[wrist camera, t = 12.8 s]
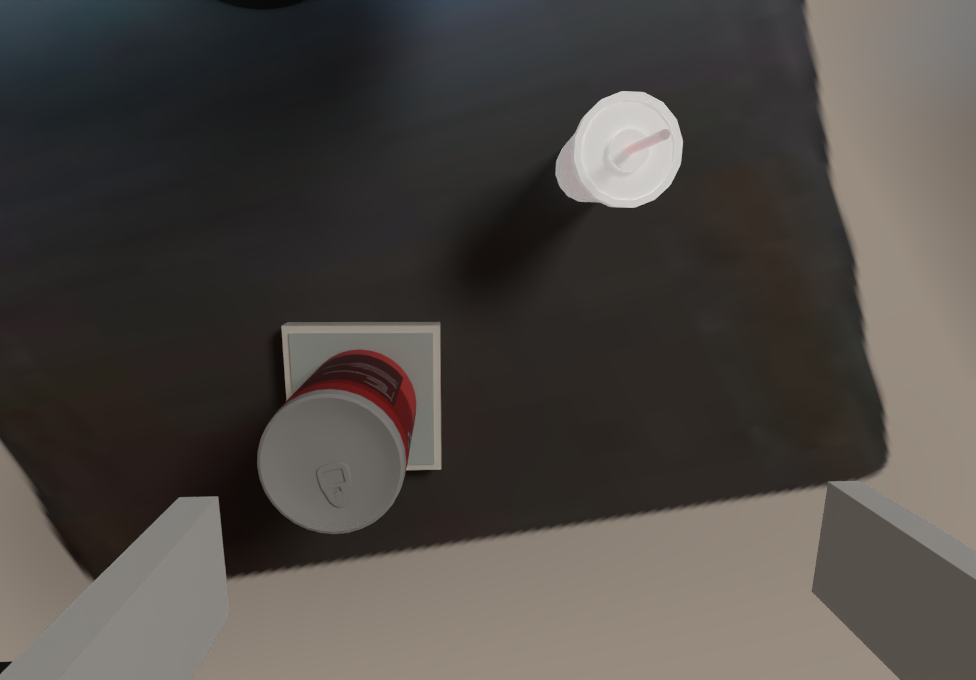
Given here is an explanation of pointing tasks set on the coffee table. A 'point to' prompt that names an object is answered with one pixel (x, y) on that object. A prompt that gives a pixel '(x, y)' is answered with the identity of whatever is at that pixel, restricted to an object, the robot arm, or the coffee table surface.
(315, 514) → the canned food
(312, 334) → the tray
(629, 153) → the beverage cup
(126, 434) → the coffee table surface
